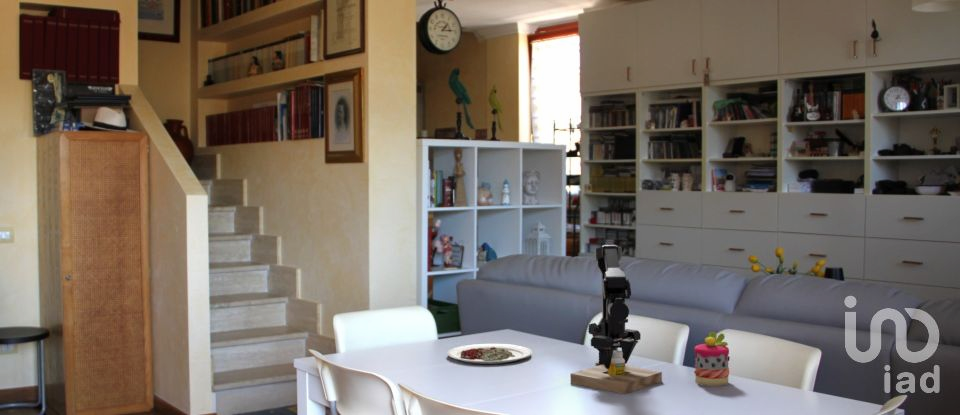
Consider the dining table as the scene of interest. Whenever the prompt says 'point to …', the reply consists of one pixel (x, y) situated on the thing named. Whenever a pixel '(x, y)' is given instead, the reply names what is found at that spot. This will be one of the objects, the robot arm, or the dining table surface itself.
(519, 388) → the dining table surface
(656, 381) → the socket block
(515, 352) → the plated food
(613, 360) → the supplement bottle
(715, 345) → the cake
